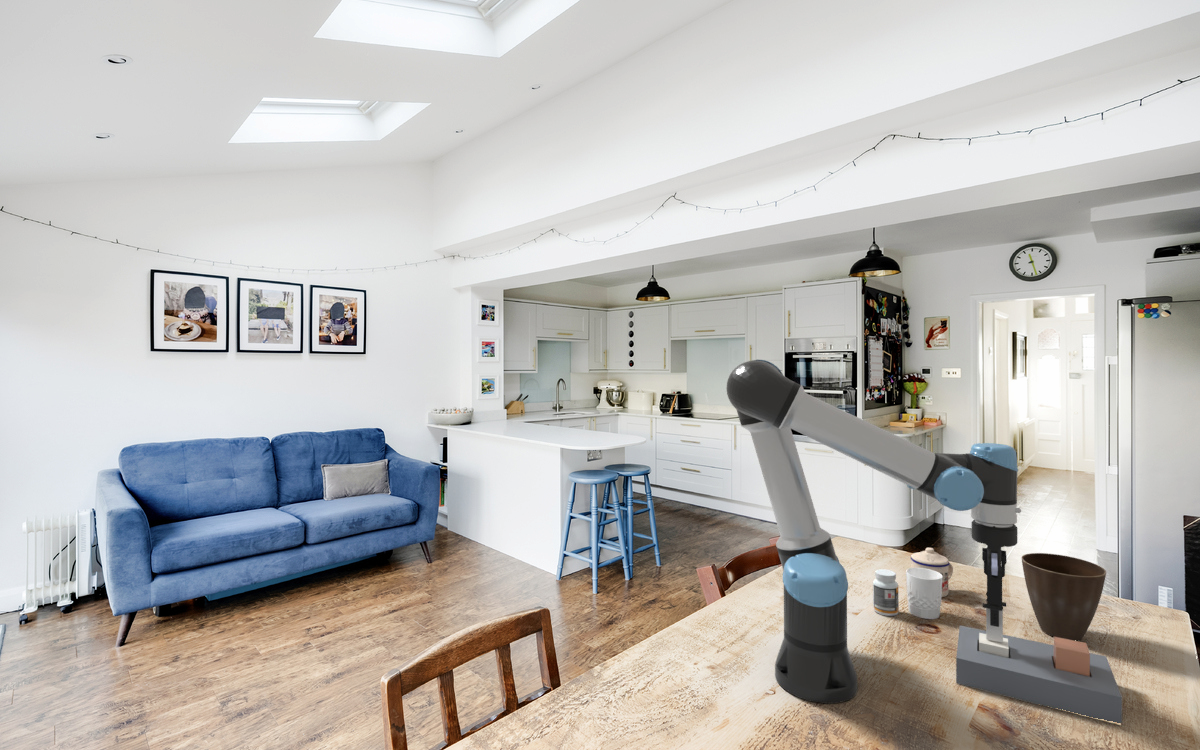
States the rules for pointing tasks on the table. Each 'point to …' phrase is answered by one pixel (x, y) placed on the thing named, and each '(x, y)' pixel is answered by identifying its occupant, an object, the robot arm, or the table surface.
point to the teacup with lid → (934, 565)
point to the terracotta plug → (1071, 656)
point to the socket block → (1038, 677)
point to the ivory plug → (993, 646)
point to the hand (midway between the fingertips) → (994, 639)
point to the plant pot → (1063, 592)
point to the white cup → (924, 592)
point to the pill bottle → (885, 593)
